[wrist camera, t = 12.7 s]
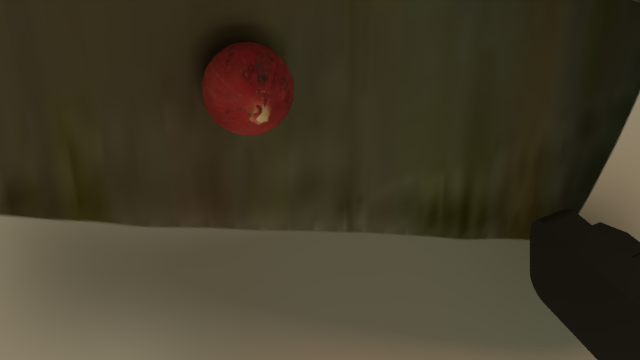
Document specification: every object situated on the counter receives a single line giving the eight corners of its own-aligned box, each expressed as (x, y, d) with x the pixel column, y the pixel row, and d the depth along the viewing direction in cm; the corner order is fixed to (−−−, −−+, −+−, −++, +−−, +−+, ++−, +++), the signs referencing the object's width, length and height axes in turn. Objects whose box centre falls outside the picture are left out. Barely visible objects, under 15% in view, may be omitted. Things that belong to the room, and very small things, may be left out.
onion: (207, 18, 37) (229, 55, 31) (288, 40, 40) (324, 80, 33) (185, 99, 40) (201, 151, 33) (263, 116, 42) (293, 167, 35)
